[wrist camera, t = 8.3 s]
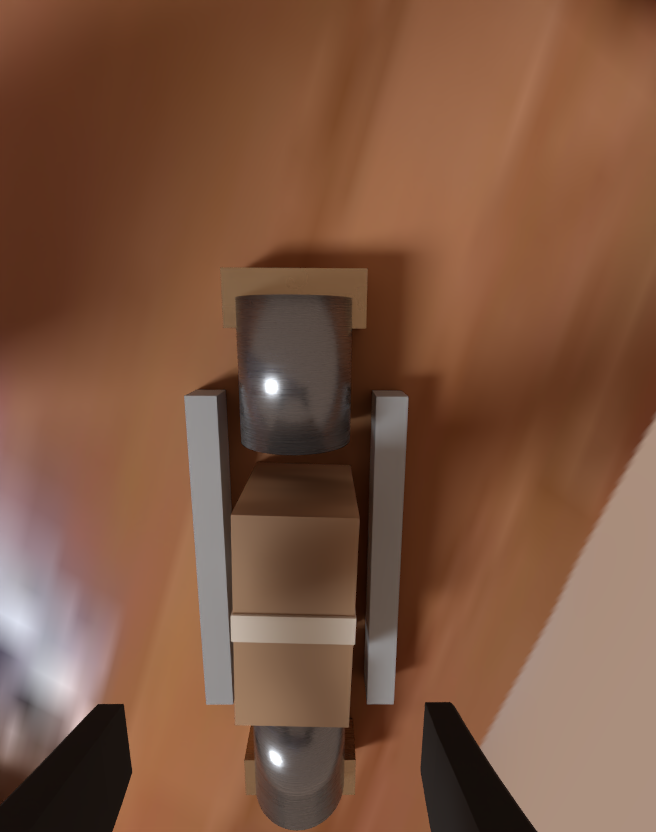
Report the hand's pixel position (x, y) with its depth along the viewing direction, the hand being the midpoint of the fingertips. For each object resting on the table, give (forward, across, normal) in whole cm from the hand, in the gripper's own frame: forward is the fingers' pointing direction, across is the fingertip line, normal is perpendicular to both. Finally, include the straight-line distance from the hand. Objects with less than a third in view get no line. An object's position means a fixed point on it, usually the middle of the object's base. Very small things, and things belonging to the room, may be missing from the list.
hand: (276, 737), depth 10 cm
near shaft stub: (+9, 0, -8) cm, 12 cm away
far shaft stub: (+9, 0, +8) cm, 12 cm away
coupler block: (+9, 0, 0) cm, 9 cm away
